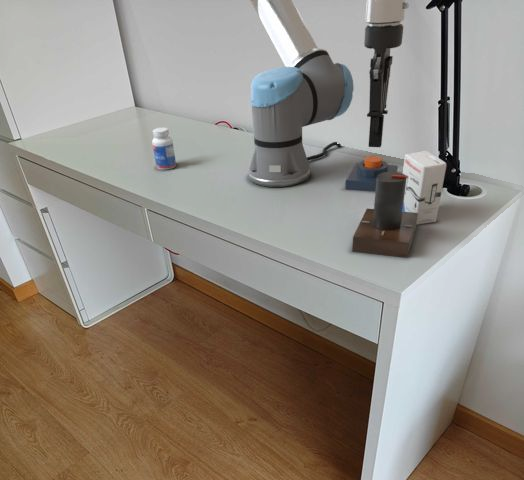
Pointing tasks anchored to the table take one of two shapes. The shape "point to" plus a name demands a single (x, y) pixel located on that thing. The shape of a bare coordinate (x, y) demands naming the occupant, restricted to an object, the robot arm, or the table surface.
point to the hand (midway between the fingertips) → (374, 146)
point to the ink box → (423, 185)
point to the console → (384, 236)
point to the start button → (373, 162)
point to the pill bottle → (163, 149)
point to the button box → (366, 176)
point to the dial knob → (389, 200)
